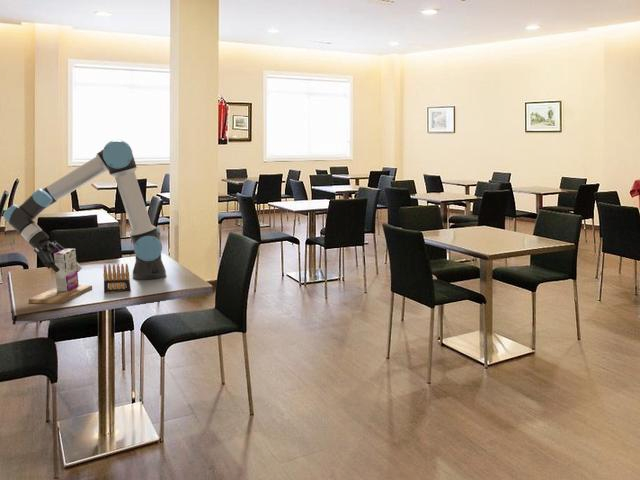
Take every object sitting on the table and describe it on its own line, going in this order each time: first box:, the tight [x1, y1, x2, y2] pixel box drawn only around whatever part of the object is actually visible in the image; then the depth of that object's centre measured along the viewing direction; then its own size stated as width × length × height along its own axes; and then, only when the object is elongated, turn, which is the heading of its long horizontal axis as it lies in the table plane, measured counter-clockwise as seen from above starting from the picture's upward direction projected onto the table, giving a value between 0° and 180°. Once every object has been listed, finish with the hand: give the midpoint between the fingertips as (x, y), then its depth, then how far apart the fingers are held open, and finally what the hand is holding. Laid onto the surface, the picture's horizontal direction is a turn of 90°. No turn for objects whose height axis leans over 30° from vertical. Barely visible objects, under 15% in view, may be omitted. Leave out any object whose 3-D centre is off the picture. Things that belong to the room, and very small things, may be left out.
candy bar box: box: [53, 248, 80, 292], centre depth 255 cm, size 11×5×16 cm, turn 179°
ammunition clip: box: [103, 263, 132, 293], centre depth 257 cm, size 11×2×12 cm, turn 100°
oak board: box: [28, 284, 93, 305], centre depth 252 cm, size 14×24×2 cm, turn 173°
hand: (72, 273), depth 255 cm, fingers closed on candy bar box, 11 cm apart
